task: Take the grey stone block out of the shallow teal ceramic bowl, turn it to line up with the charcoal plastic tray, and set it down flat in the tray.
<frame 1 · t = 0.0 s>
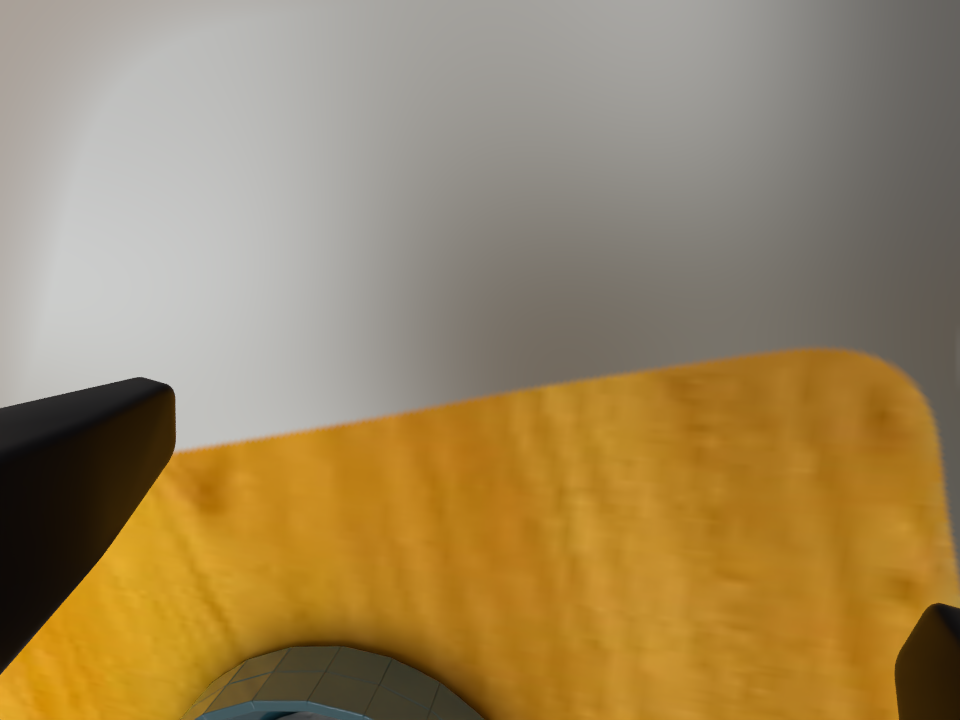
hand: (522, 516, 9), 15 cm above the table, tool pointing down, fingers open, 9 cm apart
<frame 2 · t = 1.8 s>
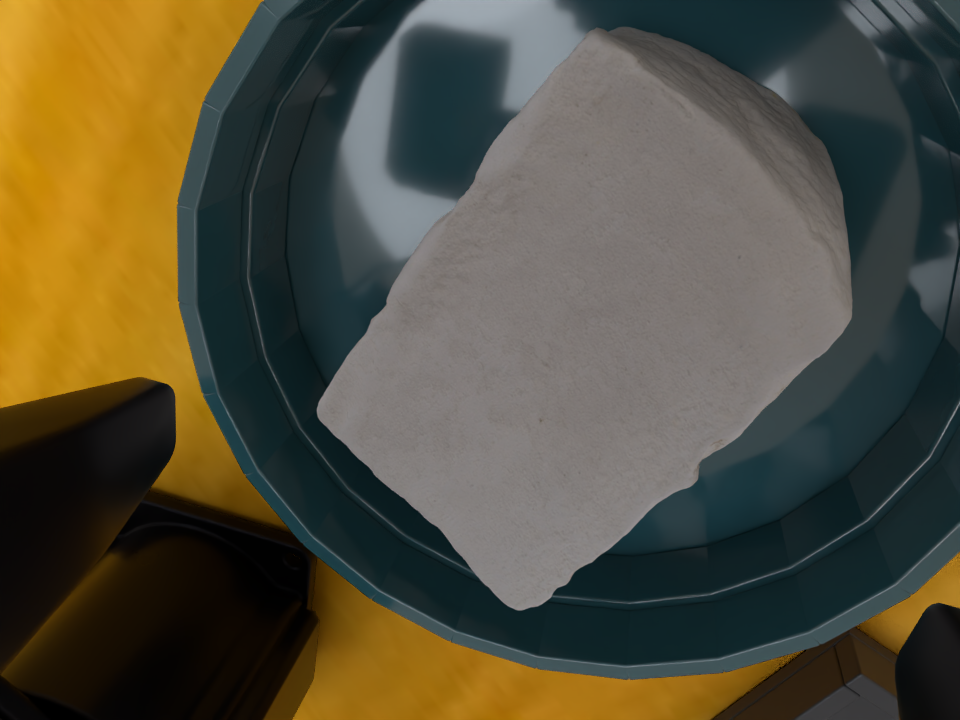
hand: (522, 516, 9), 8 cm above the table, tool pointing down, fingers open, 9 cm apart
bowl: (590, 286, 16), on the table
grey stone block: (590, 288, 16), resting on bowl
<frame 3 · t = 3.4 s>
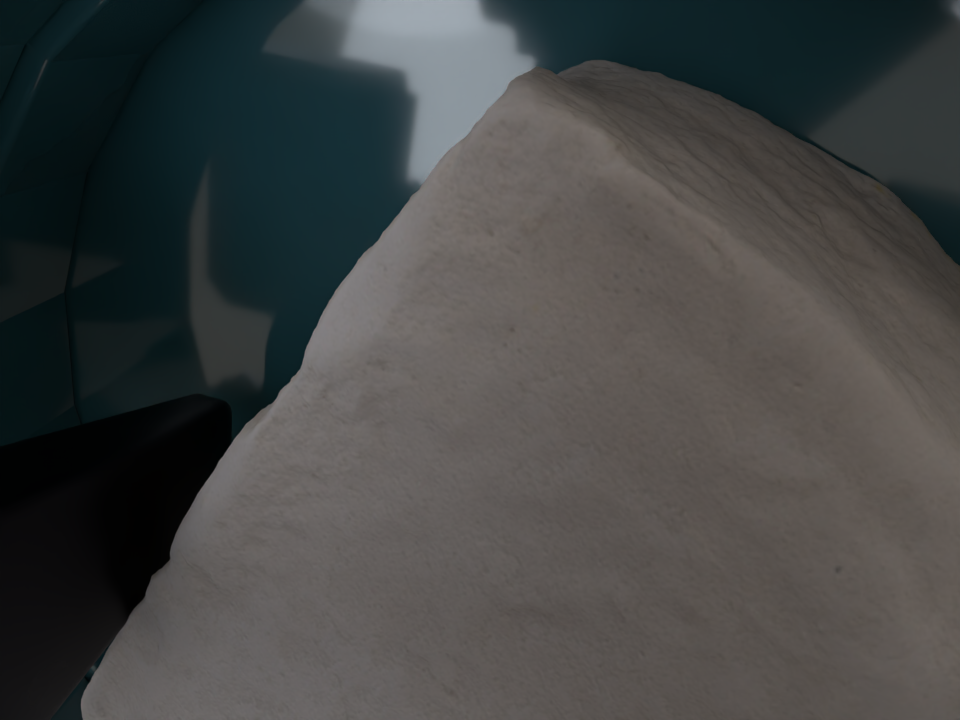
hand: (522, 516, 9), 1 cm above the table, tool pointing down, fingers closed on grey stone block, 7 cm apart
bowl: (548, 470, 10), on the table
grey stone block: (550, 476, 10), resting on bowl, touching gripper
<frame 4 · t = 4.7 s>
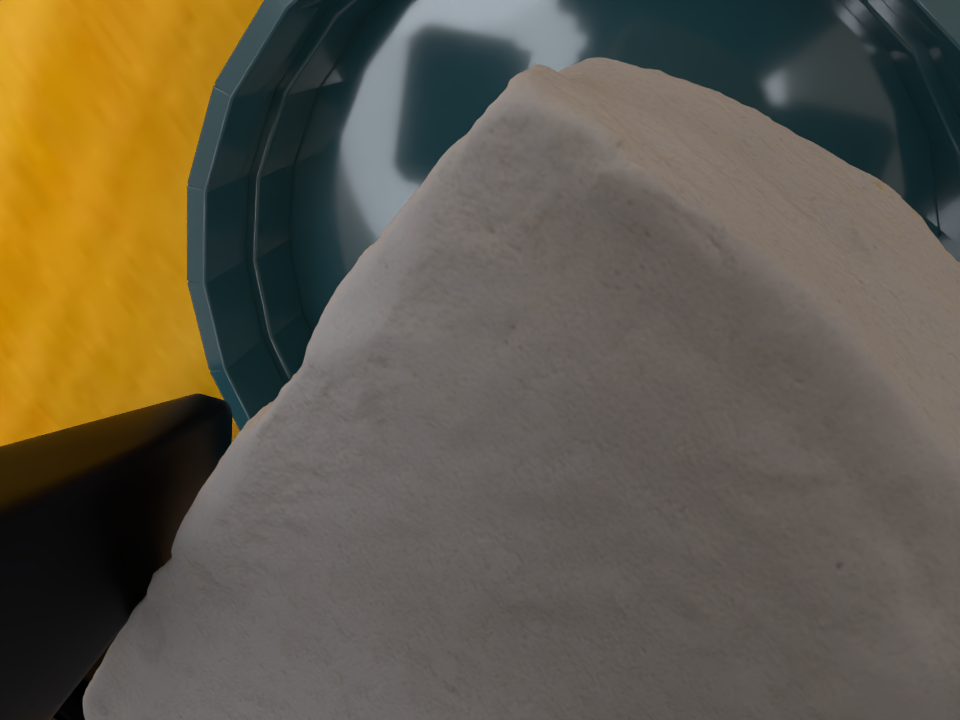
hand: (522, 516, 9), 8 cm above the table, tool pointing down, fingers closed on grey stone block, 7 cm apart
bowl: (584, 269, 16), on the table
grey stone block: (551, 474, 10), point 8 cm above the table, touching gripper
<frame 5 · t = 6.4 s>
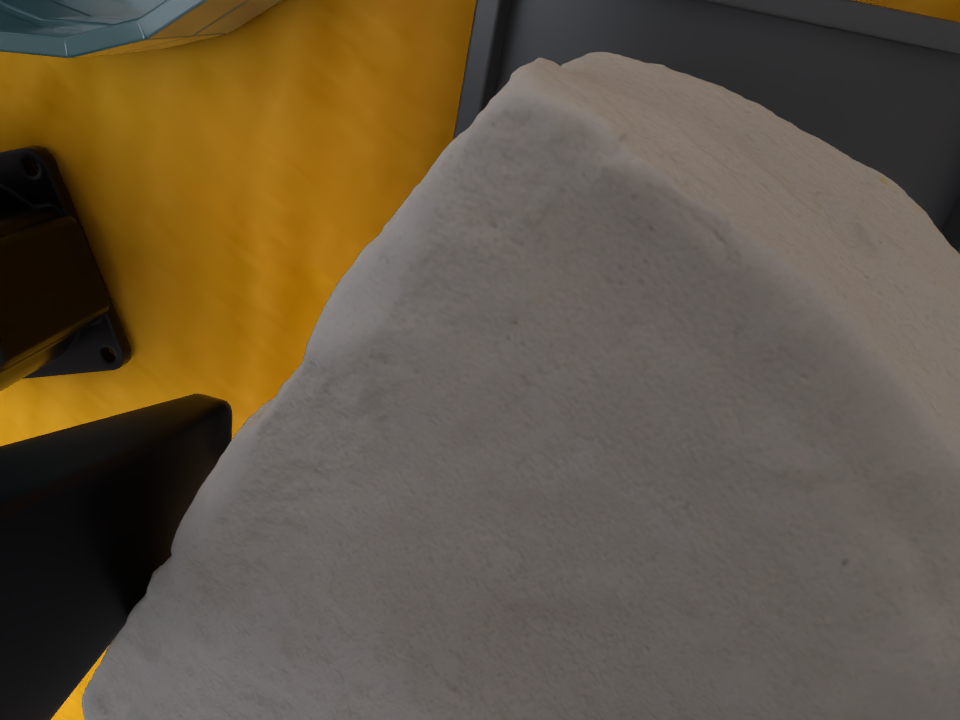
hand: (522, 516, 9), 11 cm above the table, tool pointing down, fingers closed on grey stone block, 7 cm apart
grey stone block: (552, 472, 10), point 10 cm above the table, touching gripper
tray: (658, 318, 19), on the table
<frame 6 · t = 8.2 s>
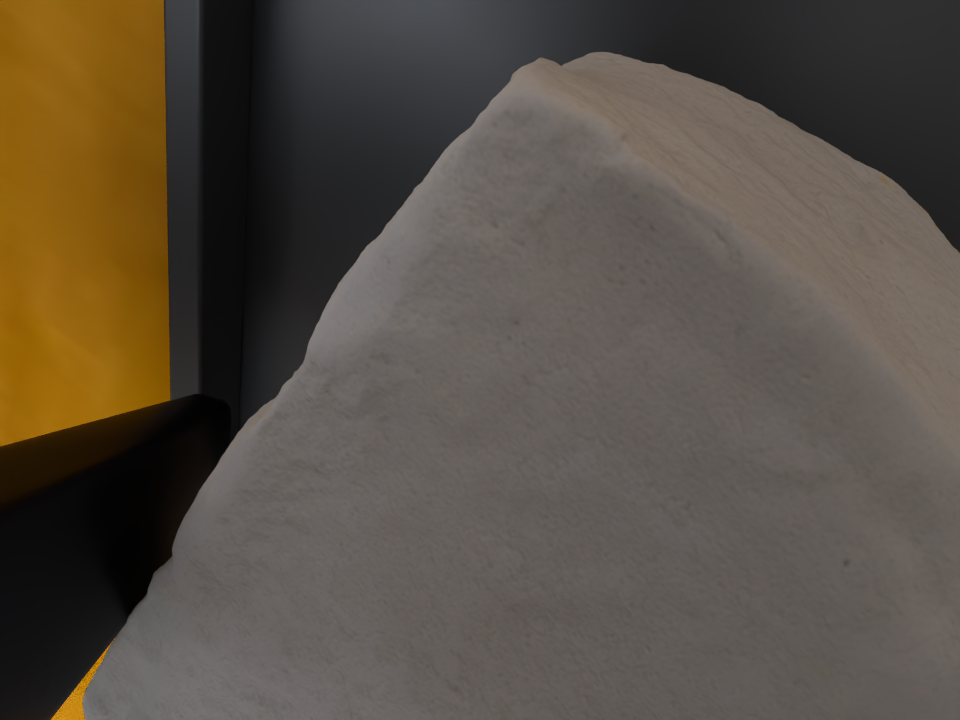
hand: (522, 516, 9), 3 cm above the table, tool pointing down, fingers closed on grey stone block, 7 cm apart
grey stone block: (553, 472, 10), point 2 cm above the table, touching gripper
tray: (563, 402, 11), on the table
when the fingers open (1 cm above the table, at t = 9.4 s): grey stone block stays where it is, resting on tray.
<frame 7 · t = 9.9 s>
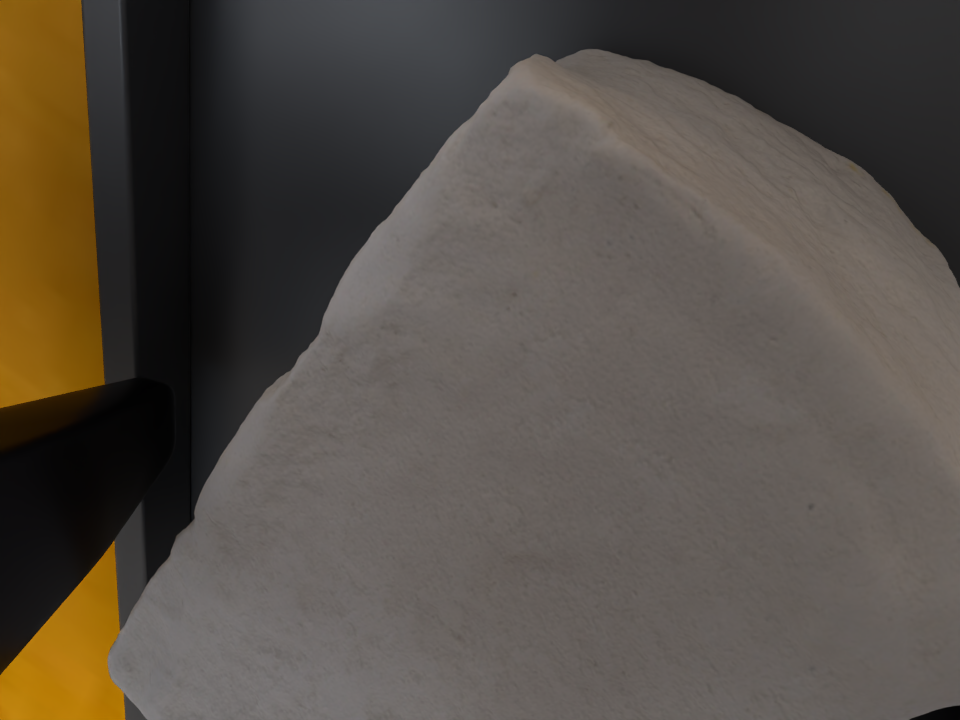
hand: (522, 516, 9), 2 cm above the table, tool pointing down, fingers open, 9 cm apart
grey stone block: (549, 446, 10), resting on tray
tray: (542, 441, 10), on the table
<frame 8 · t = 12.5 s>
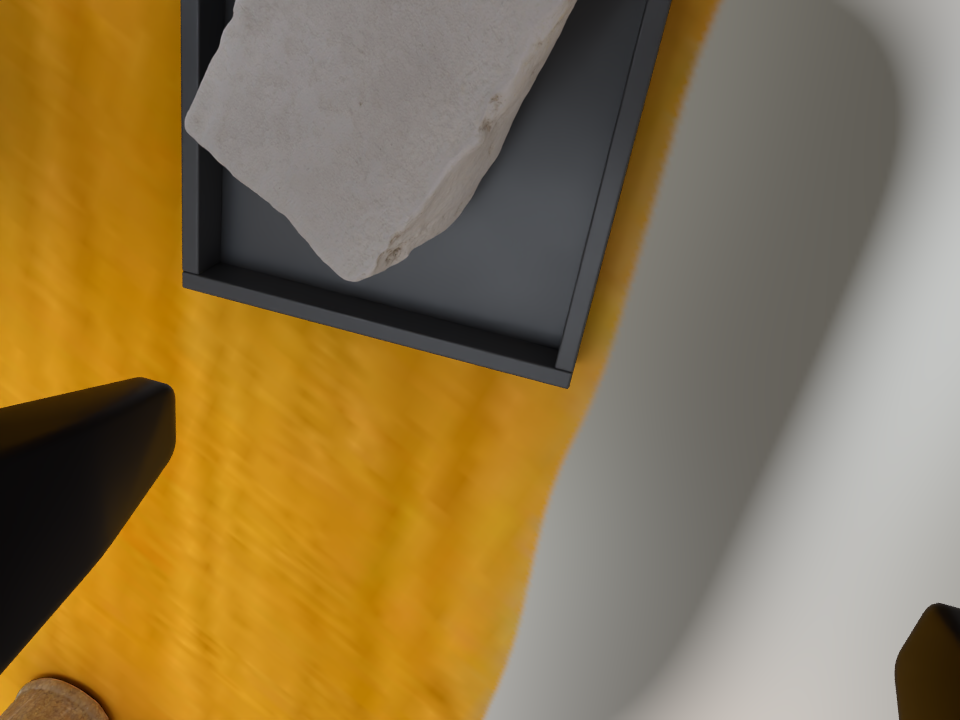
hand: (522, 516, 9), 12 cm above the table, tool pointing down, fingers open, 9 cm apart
sprinkles bottle: (73, 706, 34), on the table
grey stone block: (427, 33, 18), resting on tray
tray: (424, 36, 18), on the table
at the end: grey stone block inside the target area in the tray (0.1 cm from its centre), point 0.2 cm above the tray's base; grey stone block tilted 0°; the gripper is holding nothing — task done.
